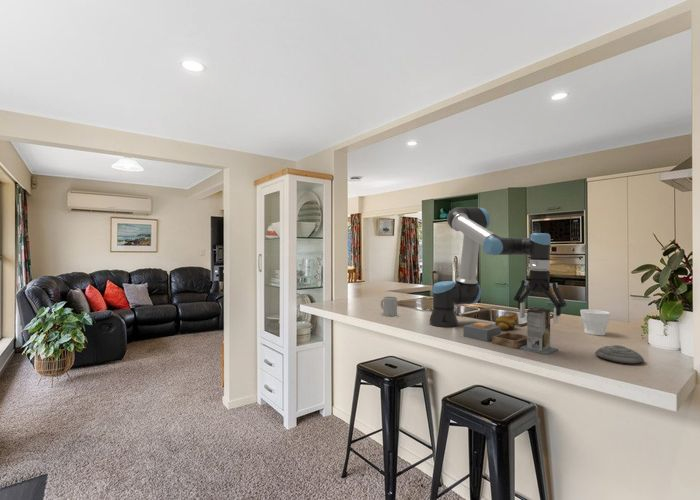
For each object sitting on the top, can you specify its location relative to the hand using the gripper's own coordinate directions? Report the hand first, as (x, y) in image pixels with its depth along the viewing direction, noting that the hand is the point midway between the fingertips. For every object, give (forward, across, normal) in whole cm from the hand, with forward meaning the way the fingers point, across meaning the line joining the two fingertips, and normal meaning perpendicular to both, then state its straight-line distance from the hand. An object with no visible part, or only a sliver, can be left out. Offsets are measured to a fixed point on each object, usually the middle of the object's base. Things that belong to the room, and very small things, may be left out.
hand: (538, 320), depth 150 cm
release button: (+11, -26, 0) cm, 28 cm away
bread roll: (+13, -28, +25) cm, 39 cm away
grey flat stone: (+12, +26, +11) cm, 30 cm away
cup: (+12, +6, +51) cm, 53 cm away
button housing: (+12, -26, 0) cm, 28 cm away
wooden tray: (+12, -11, 0) cm, 16 cm away
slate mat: (+12, 0, 0) cm, 12 cm away
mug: (+14, -92, +3) cm, 93 cm away
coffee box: (+12, 0, 0) cm, 12 cm away
